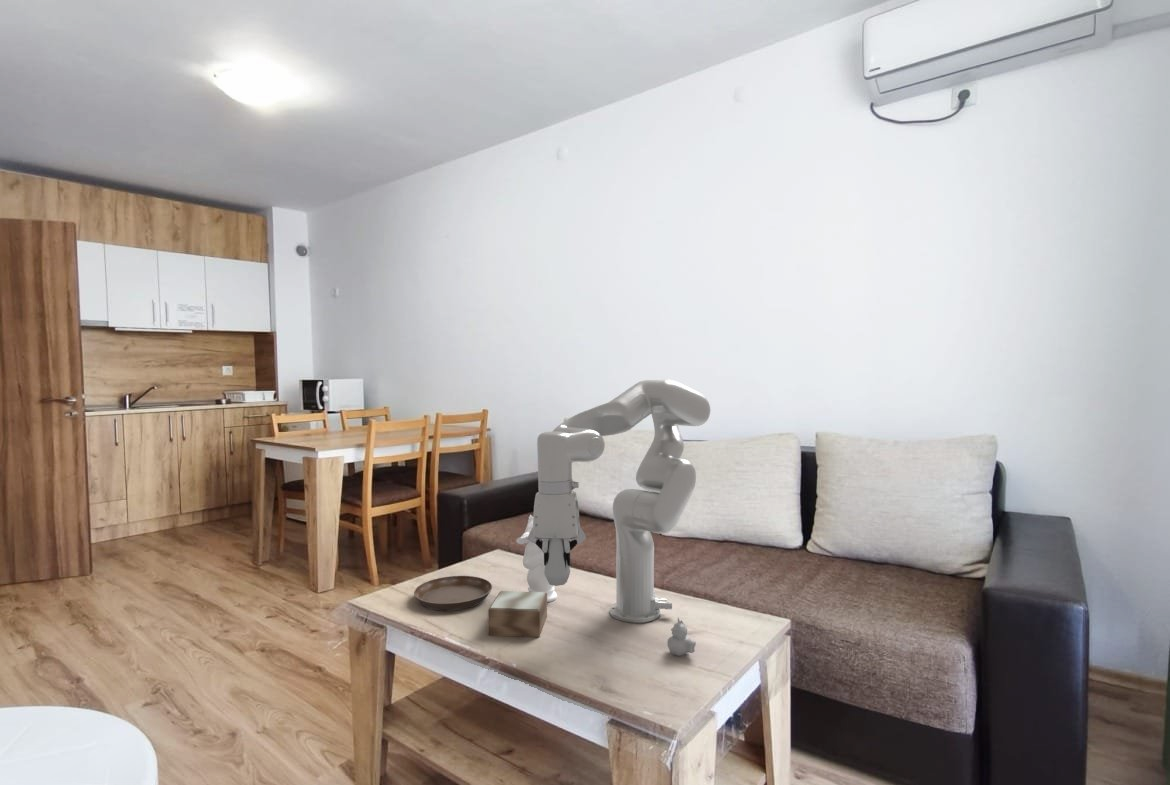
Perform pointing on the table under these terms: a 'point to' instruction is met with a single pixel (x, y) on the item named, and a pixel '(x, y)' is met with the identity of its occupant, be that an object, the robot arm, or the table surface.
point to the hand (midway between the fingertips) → (557, 568)
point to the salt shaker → (556, 563)
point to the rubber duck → (680, 640)
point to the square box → (517, 614)
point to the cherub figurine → (535, 565)
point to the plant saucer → (453, 592)
